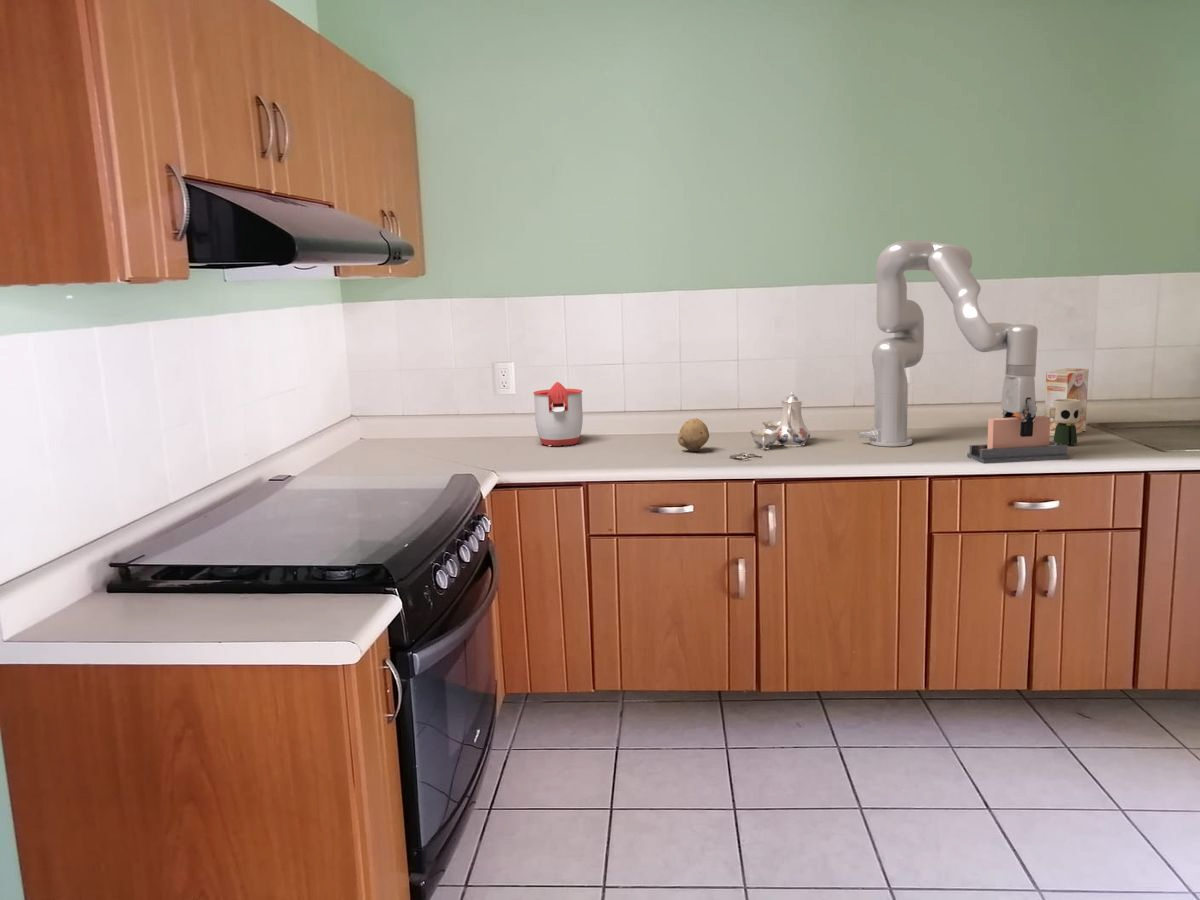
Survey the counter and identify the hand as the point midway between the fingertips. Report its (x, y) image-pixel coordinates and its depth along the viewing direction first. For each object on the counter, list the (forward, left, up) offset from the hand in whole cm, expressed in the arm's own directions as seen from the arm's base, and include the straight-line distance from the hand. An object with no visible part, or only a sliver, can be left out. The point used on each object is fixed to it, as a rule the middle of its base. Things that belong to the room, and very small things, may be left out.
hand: (1017, 433), depth 280 cm
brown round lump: (-83, +34, -7) cm, 90 cm away
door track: (0, 0, -7) cm, 7 cm away
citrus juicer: (-122, +59, -7) cm, 135 cm away
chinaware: (-55, +39, -7) cm, 68 cm away
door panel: (0, 0, -6) cm, 6 cm away
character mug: (+22, +15, -7) cm, 28 cm away
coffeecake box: (+32, +33, -7) cm, 46 cm away
